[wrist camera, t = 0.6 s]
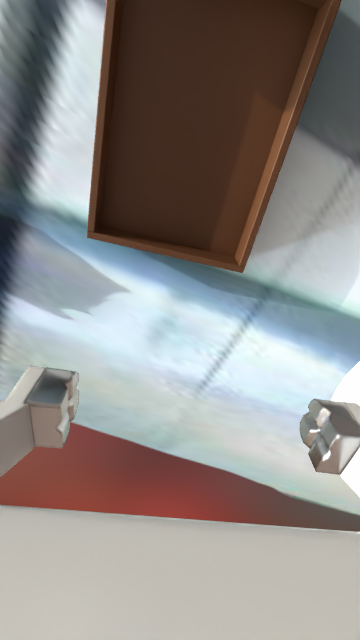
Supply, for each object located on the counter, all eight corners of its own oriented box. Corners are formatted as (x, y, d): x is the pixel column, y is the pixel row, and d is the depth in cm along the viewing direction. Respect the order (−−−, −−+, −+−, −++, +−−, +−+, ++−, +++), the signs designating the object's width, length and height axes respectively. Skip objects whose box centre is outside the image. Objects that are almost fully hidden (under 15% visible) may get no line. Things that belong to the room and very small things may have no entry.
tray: (123, -70, 19) (114, -104, 16) (326, 3, 21) (348, -18, 18) (94, 229, 28) (86, 237, 26) (237, 262, 30) (243, 273, 28)
